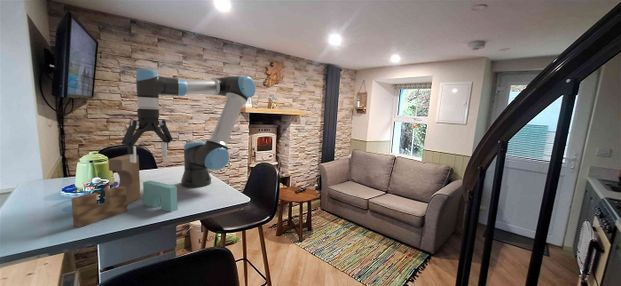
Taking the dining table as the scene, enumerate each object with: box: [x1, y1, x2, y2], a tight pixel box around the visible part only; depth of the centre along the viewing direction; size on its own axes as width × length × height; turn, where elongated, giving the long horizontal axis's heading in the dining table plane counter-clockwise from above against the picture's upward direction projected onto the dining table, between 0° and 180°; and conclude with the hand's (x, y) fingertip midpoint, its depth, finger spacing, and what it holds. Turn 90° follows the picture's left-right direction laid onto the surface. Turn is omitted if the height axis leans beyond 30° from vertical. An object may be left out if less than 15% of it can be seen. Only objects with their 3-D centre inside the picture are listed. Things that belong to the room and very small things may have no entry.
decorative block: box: [107, 154, 141, 206], centre depth 110 cm, size 11×6×20 cm, turn 179°
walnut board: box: [71, 185, 128, 229], centre depth 95 cm, size 16×3×10 cm, turn 158°
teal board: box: [142, 180, 178, 213], centre depth 107 cm, size 16×3×10 cm, turn 68°
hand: (149, 159), depth 107 cm, fingers open, 13 cm apart
